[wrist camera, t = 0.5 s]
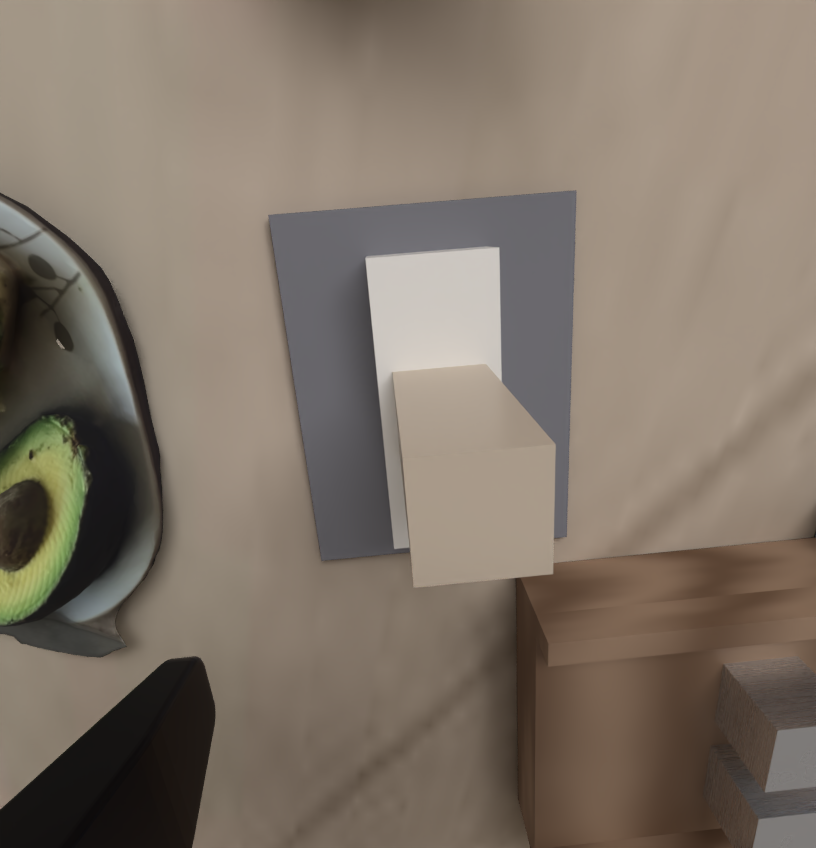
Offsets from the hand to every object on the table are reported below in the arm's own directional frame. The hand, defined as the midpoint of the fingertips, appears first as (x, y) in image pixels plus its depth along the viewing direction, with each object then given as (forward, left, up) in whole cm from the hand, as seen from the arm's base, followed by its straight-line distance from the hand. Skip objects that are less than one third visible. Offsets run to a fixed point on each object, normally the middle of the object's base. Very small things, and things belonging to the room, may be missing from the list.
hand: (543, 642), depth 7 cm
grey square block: (-12, +17, -10) cm, 24 cm away
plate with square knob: (0, 0, -13) cm, 13 cm away
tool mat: (0, 0, -13) cm, 13 cm away
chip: (-12, +13, -10) cm, 20 cm away
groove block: (-9, +15, -13) cm, 22 cm away
